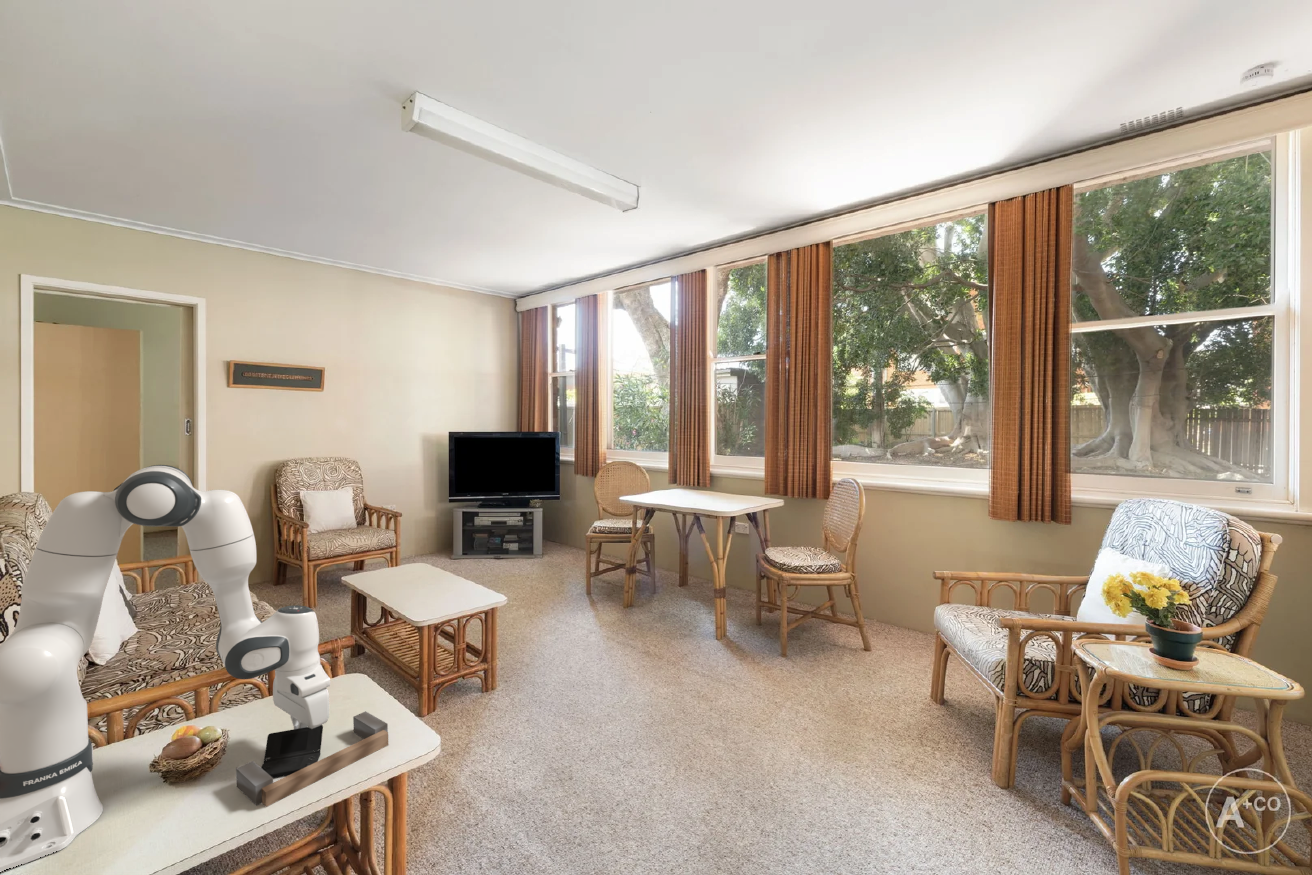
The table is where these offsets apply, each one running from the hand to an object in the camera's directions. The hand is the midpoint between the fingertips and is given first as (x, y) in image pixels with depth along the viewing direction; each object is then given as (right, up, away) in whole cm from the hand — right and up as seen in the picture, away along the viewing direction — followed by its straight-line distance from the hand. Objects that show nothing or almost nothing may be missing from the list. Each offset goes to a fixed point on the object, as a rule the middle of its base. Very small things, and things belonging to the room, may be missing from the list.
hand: (300, 733), depth 128 cm
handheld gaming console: (+2, -4, -6) cm, 7 cm away
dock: (+8, -4, -6) cm, 11 cm away
